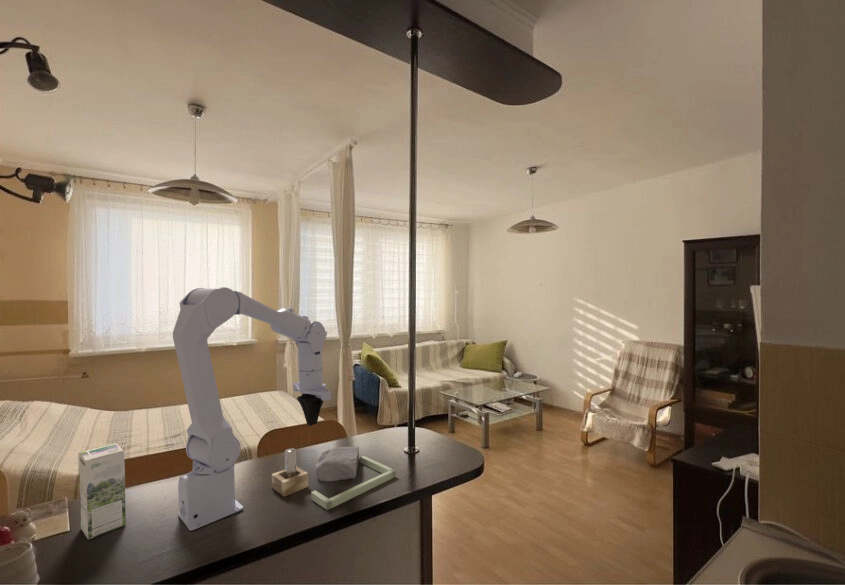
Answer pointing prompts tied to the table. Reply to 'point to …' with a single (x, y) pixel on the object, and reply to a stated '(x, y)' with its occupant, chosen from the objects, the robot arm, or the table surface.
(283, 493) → the block
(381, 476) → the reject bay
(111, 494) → the syrup box
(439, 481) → the table surface
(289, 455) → the cylinder
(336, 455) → the stone block
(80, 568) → the table surface
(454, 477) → the table surface
